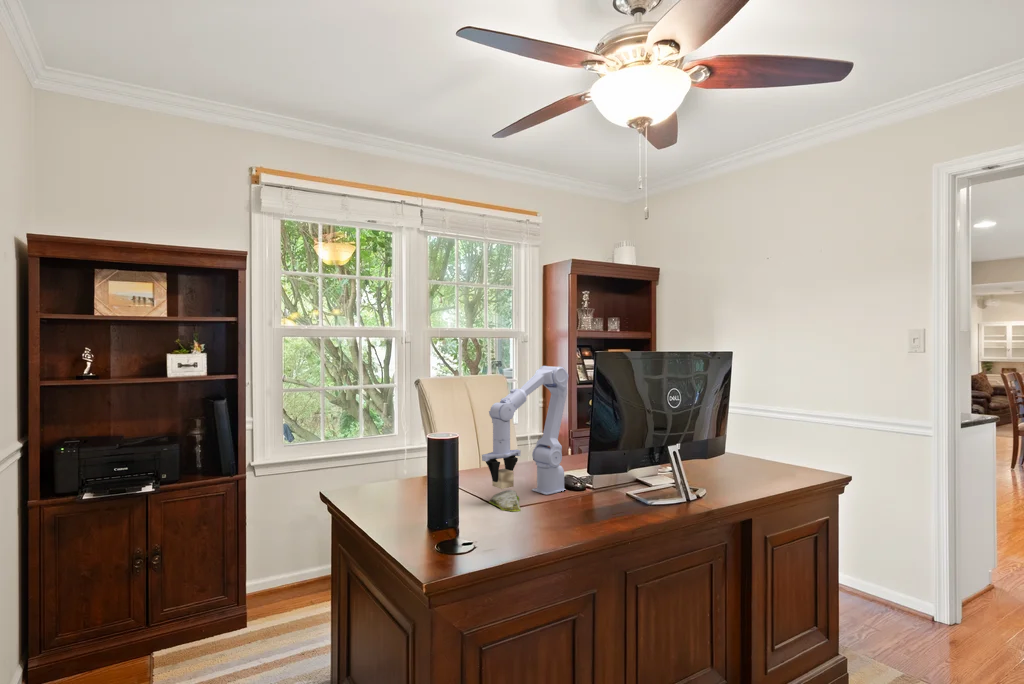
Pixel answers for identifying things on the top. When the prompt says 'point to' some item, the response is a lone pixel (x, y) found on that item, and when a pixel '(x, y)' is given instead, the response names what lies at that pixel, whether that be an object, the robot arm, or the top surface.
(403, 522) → the top surface
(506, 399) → the robot arm
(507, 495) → the decorative stone
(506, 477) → the beech block
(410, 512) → the top surface
